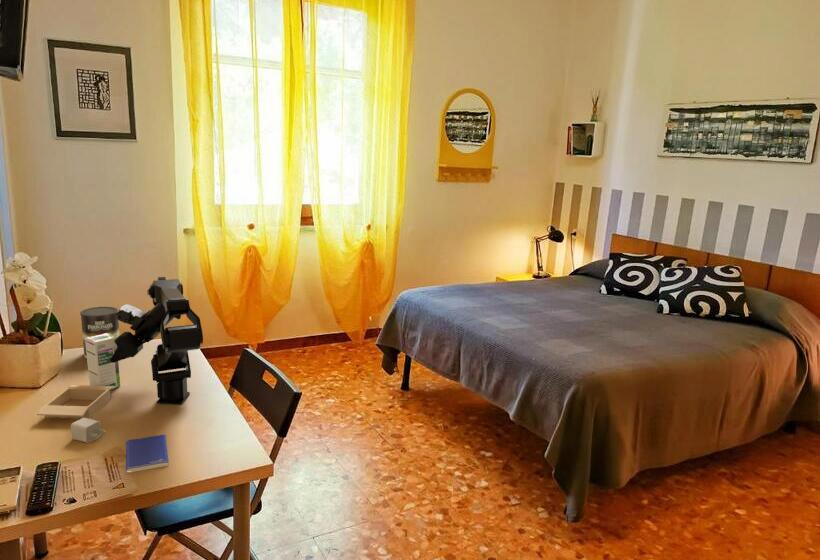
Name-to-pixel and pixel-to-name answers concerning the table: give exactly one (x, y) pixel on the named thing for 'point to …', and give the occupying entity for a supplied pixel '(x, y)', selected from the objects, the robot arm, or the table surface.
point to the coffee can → (99, 323)
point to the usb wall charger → (86, 430)
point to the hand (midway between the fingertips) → (119, 354)
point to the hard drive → (146, 453)
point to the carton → (82, 393)
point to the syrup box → (102, 360)
